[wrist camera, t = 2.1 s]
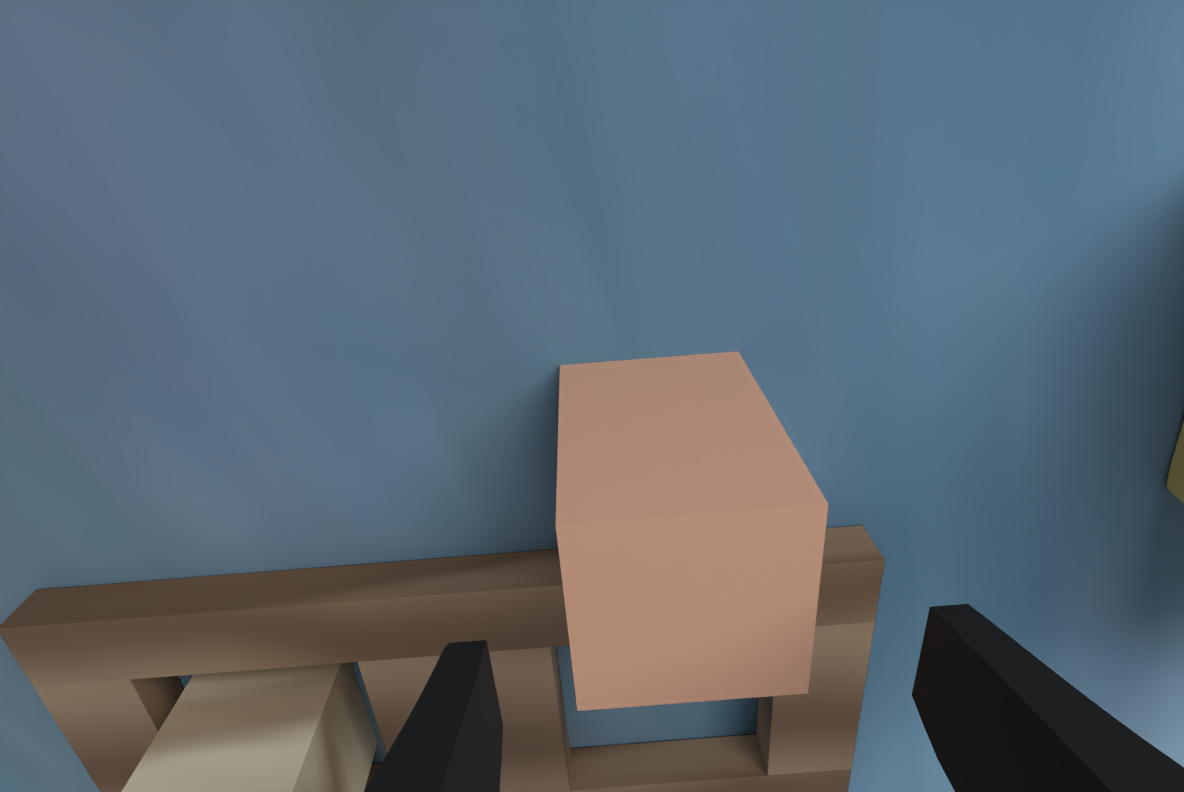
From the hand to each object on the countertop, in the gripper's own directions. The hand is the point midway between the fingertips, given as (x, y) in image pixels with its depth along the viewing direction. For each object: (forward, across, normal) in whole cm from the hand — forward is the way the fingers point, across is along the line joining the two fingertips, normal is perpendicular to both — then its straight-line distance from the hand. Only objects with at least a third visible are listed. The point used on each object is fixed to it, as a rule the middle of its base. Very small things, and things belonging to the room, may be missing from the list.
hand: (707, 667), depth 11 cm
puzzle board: (+8, +6, +9) cm, 13 cm away
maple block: (+8, +12, +9) cm, 17 cm away
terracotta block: (+8, 0, 0) cm, 8 cm away
